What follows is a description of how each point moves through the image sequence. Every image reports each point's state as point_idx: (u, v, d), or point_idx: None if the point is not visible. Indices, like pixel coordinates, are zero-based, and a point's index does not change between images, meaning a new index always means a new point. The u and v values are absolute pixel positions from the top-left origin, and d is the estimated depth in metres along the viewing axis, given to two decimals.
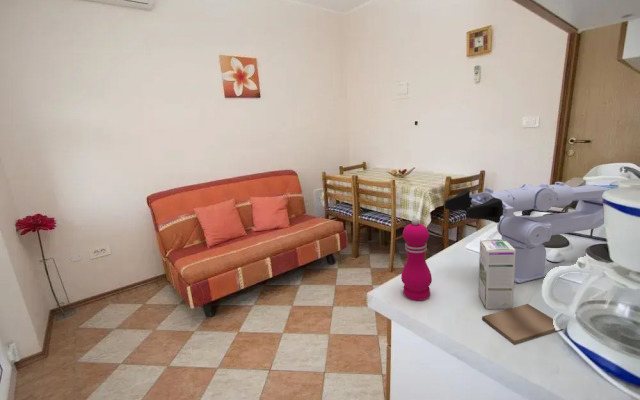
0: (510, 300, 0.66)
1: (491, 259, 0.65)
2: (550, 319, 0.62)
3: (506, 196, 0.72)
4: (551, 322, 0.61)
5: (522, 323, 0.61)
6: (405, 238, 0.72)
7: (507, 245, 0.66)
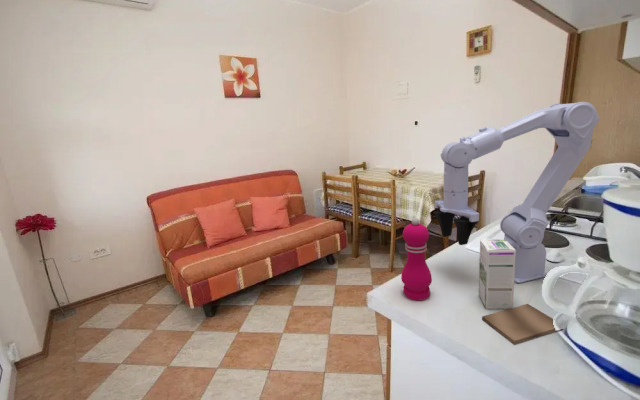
0: (510, 300, 0.66)
1: (491, 259, 0.65)
2: (550, 319, 0.62)
3: (454, 198, 0.76)
4: (551, 322, 0.61)
5: (522, 323, 0.61)
6: (405, 238, 0.72)
7: (507, 245, 0.66)
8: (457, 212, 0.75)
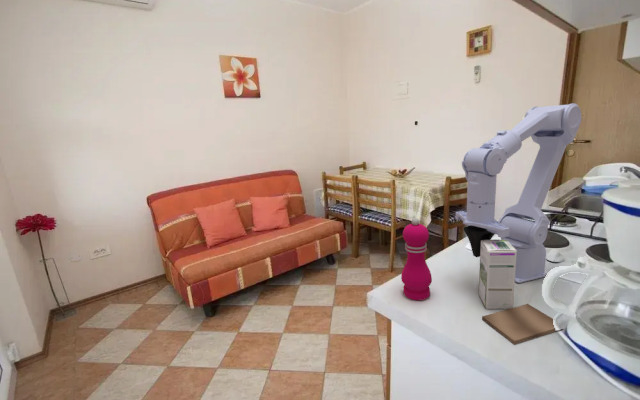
0: (510, 300, 0.66)
1: (492, 259, 0.65)
2: (550, 319, 0.62)
3: (479, 210, 0.68)
4: (551, 322, 0.61)
5: (522, 323, 0.61)
6: (405, 238, 0.72)
7: (508, 245, 0.65)
8: (483, 226, 0.67)
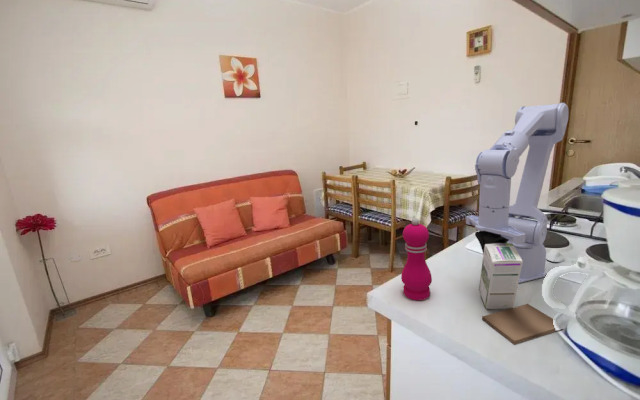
0: (511, 302, 0.66)
1: (496, 269, 0.62)
2: (550, 319, 0.62)
3: (493, 215, 0.64)
4: (551, 322, 0.61)
5: (522, 323, 0.61)
6: (405, 238, 0.72)
7: (514, 253, 0.62)
8: (497, 232, 0.64)
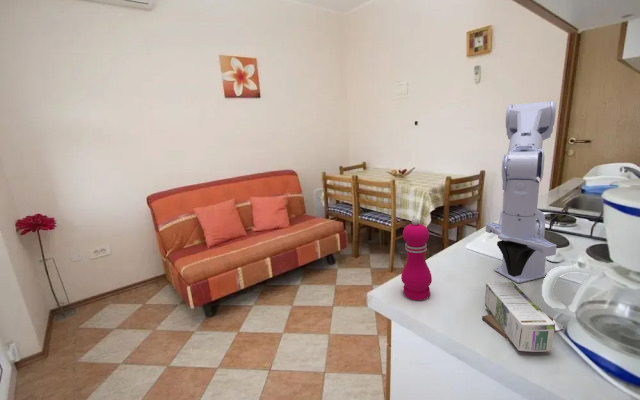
0: None
1: None
2: None
3: (519, 223, 0.58)
4: None
5: None
6: (405, 238, 0.72)
7: (548, 341, 0.53)
8: (524, 242, 0.58)
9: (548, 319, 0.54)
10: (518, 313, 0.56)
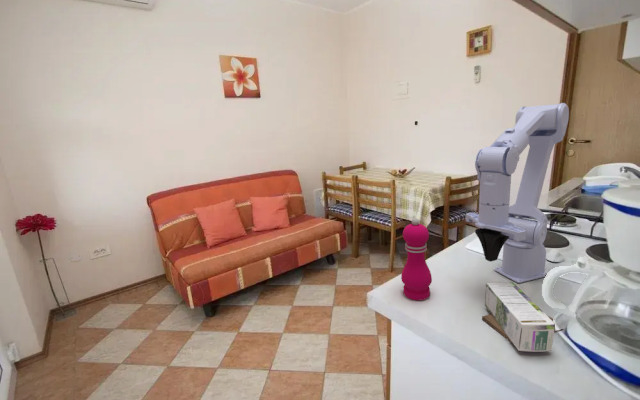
0: None
1: None
2: None
3: (493, 212, 0.64)
4: None
5: None
6: (405, 238, 0.72)
7: (548, 341, 0.53)
8: (498, 229, 0.63)
9: (548, 319, 0.54)
10: (518, 313, 0.56)
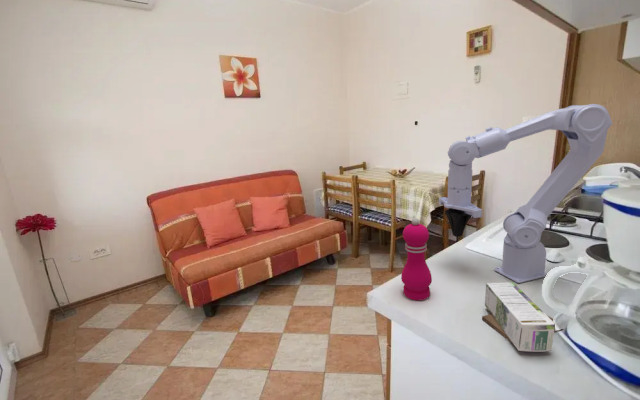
0: None
1: None
2: None
3: (458, 195, 0.78)
4: None
5: None
6: (405, 238, 0.72)
7: (548, 341, 0.53)
8: (461, 208, 0.78)
9: (548, 319, 0.54)
10: (518, 313, 0.56)
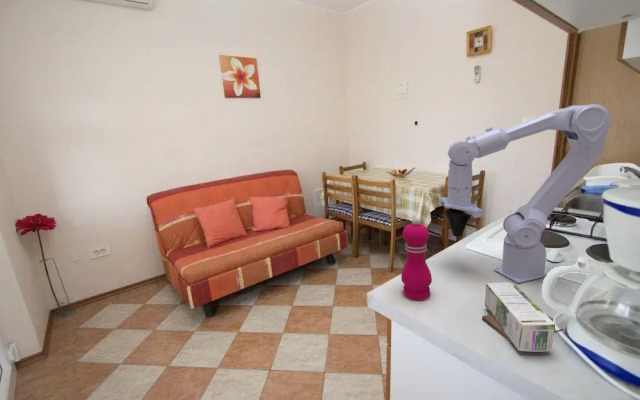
0: None
1: None
2: None
3: (458, 195, 0.78)
4: None
5: None
6: (405, 238, 0.72)
7: (548, 341, 0.53)
8: (461, 208, 0.78)
9: (548, 319, 0.54)
10: (518, 313, 0.56)
